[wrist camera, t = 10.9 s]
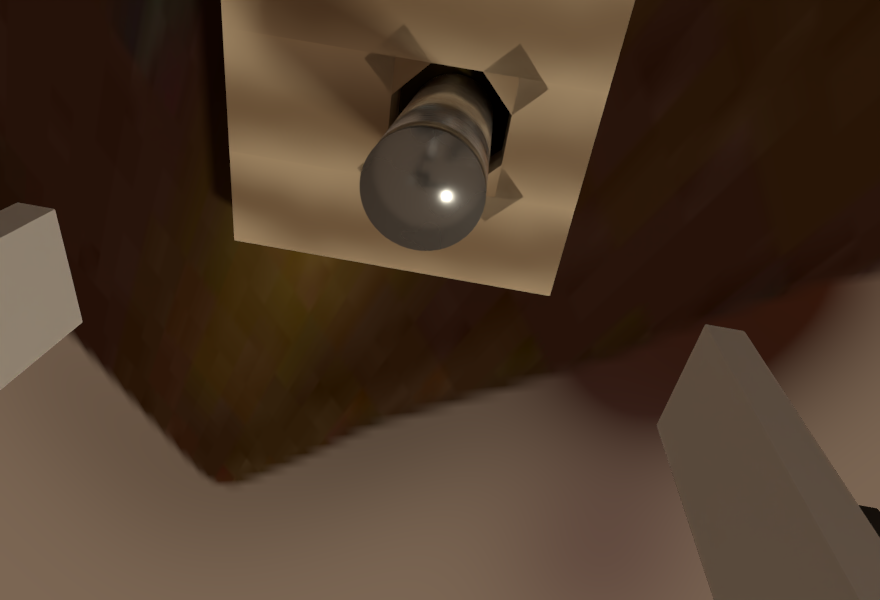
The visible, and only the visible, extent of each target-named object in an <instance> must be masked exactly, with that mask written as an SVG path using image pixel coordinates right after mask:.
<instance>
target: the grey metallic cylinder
mask: <svg viewBox="0 0 880 600" xmlns="http://www.w3.org/2000/svg"><path fill="white" fill-rule="evenodd" d="M492 127H493V108H492V104H491V101H490V99H489V96H488V95H487V93H486V91H485V90H484V89H483V87H482V86H481V85H480V84H479V83H477V82H476V81H475V80H473V79H471V78H470V77H467V76H465V75H461V74H455V73H448V74H442V75H439V76H436V77H434V78H432V79H431V80H429V81H428V82H426V83H425V84H424V85H423V86H422V87H421V89H420V90H419V91H418V92H417V94H416V95H415V96H414V97H413V99H412V100H411V101H410V102H409V104H408V105H407V106H406V107H405V109H404V110H403V111H402V113H401V114H400V115H399V116H398V118H397V119H396V120H395V121H394V123H393V124H392V125H391V127H390V128H389V129H388V130H387V132H386V133H385V134H384V135H383V137H382V138H381V139H380V141H379V142H378V143H377V144H376V146H375V147H374V148H373V149H372V151H371V152H370V154H369V155H368V157H367V158H366V160H365V163H364V165H363V168H362V171H361V175H360V197H361V201H362V205H363V208H364V210H365V213H366V215H367V216H368V218H369V220H370V221H371V223H372V224H373V225H374V227H375V228H376V229H377V230H378V231H379V232H380V233H381V234H382V235H383V236H385V237H386V238H387V239H389V240H390V241H392V242H394V243H396V244H398V245H400V246H402V247H405V248H408V249H413V250H419V251H433V250H440V249H443V248H447V247H449V246H452V245H454V244H456V243H458V242H459V241H461V240H462V239H463V238H465V237H466V236H467V235H468V234H469V233H470V232H471V231H472V230H473V229H474V227H475V226H476V225H477V223H478V221H479V220H480V218H481V215H482V213H483V210H484V206H485V201H486V191H487V181H488V170H489V159H490V149H491V138H492Z"/></svg>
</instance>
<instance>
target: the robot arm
mask: <svg viewBox="0 0 880 600" xmlns="http://www.w3.org/2000/svg"><path fill="white" fill-rule="evenodd" d="M81 323H82V318H81V314H80V310H79V306H78V302H77V298H76V294H75V289H74V285H73V281H72V277H71V273H70V269H69V265H68V261H67V257H66V253H65V249H64V245H63V241H62V237H61V232H60V228H59V224H58V220H57V216H56V212H55V209H51V208H45V207H39V206H34V205H28V204H22V203H16V204H14V205H12V206H9V207H7V208H5V209H3V210H1V211H0V390H1V389H2V388H3V387H5V386H6V385H7V384H8V383H9V382H11V381H12V380H13V379H14V378H15V377H17V376H18V375H19V374H20V373H22V372H23V371H24V370H25V369H26V368H27V367H29V366H30V365H31V364H32V363H34V362H35V361H36V360H37V359H38V358H40V357H41V356H42V355H43V354H44V353H46V352H47V351H48V350H49V349H51V348H52V347H53V346H54V345H55V344H57V343H58V342H59V341H60V340H61V339H63V338H64V337H65V336H66V335H67V334H69V333H70V332H71V331H72V330H74V329H75V328H76V327H77V326H78V325H80V324H81ZM657 428H658V431H659V435H660V438H661V441H662V443H663V447H664V450H665V452H666V456H667V459H668V462H669V465H670V468H671V471H672V474H673V477H674V480H675V483H676V486H677V489H678V493H679V496H680V499H681V501H682V505H683V507H684V511H685V514H686V517H687V520H688V523H689V526H690V529H691V532H692V535H693V538H694V541H695V544H696V547H697V550H698V554H699V557H700V559H701V563H702V566H703V569H704V571H705V575H706V578H707V581H708V584H709V587H710V590H711V593H712V596H713V599H714V600H880V511H879V510H878V509H877V508H871V507H866V506H860V505H858V504H857V502H856V501H855V499H854V498H853V496H852V495H851V493H850V492H849V491H848V489H847V487H846V486H845V484H844V483H843V481H842V480H841V478H840V477H839V475H838V473H837V472H836V470H835V469H834V467H833V466H832V465H831V463H830V461H829V460H828V458H827V457H826V455H825V454H824V452H823V451H822V449H821V448H820V446H819V444H818V443H817V442H816V440H815V438H814V437H813V435H812V434H811V432H810V431H809V429H808V428H807V426H806V425H805V423H804V422H803V420H802V419H801V417H800V416H799V414H798V412H797V411H796V410H795V408H794V406H793V405H792V403H791V402H790V400H789V399H788V398H787V396H786V394H785V393H784V392H783V390H782V388H781V387H780V385H779V384H778V382H777V381H776V379H775V377H774V376H773V374H772V373H771V371H770V370H769V368H768V367H767V365H766V364H765V362H764V361H763V359H762V358H761V356H760V355H759V353H758V352H757V350H756V349H755V347H754V346H753V344H752V342H751V341H750V339H749V338H748V337H747V335H746V333H745V332H744V331H740V330H734V329H728V328H723V327H717V326H712V325H706V324H705V326H704V328H703V330H702V332H701V335H700V337H699V339H698V341H697V343H696V345H695V347H694V349H693V351H692V353H691V355H690V357H689V359H688V361H687V364H686V366H685V368H684V370H683V372H682V374H681V376H680V378H679V380H678V382H677V384H676V386H675V388H674V390H673V393H672V395H671V397H670V399H669V401H668V403H667V405H666V407H665V409H664V411H663V413H662V415H661V417H660V419H659V422H658V424H657Z"/></svg>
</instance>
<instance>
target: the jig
mask: <svg viewBox="0 0 880 600" xmlns="http://www.w3.org/2000/svg"><path fill="white" fill-rule="evenodd" d="M634 2H635V0H221V11H222V29H223V46H224V64H225V82H226V99H227V117H228V134H229V152H230V170H231V187H232V205H233V222H234V240H236V241H242V242H248V243H253V244H259V245H265V246H270V247H276V248H282V249H287V250H293V251H299V252H304V253H310V254H316V255H321V256H327V257H332V258H338V259H344V260H349V261H355V262H361V263H366V264H372V265H378V266H383V267H389V268H395V269H400V270H406V271H412V272H417V273H423V274H429V275H434V276H440V277H446V278H451V279H457V280H462V281H468V282H474V283H479V284H485V285H491V286H496V287H502V288H508V289H513V290H519V291H525V292H530V293H536V294H542V295H547V296H550V293H551V290H552V286H553V283H554V279H555V276H556V272H557V269H558V266H559V262H560V259H561V255H562V252H563V248H564V245H565V241H566V238H567V234H568V231H569V227H570V224H571V220H572V217H573V214H574V210H575V207H576V203H577V200H578V196H579V193H580V189H581V186H582V182H583V179H584V175H585V172H586V168H587V165H588V162H589V158H590V155H591V151H592V148H593V144H594V141H595V137H596V134H597V130H598V127H599V123H600V120H601V116H602V113H603V110H604V106H605V103H606V99H607V96H608V92H609V89H610V85H611V82H612V78H613V75H614V71H615V68H616V64H617V61H618V58H619V54H620V51H621V47H622V44H623V40H624V37H625V33H626V30H627V26H628V23H629V19H630V16H631V12H632V9H633V6H634ZM430 63H436V64H442V65H447V66H453V67H459V68H465V69H471V70H477V71H483V72H484V74H485V75H486V77H487V78H488V80H489V81H490V83H491V84H492V86H493V88H494V89H495V91H496V92H497V94H498V95H499V97H500V98H501V100H502V101H503V103H504V104H505V106H506V107H507V109H508V110H509V117H508V122H507V127H506V132H505V137H504V142H503V147H502V149H501V150H500V151H498V152H497V153H495V154H494V155H493V156H491V157H490V159H489V170H488V181H487V191H486V201H485V206H484V210H483V213H482V215H481V218H480V220H479V221H478V223H477V225H476V226H475V227H474V229H473V230H472V231H471V232H470V233H469V234H468V235H467V236H466V237H465V238H463V239H462V240H461V241H459V242H458V243H456V244H454V245H452V246H449V247H447V248H443V249H440V250H433V251H419V250H413V249H408V248H405V247H402V246H400V245H398V244H396V243H394V242H392V241H390V240H389V239H387V238H386V237H385V236H383V235H382V234H381V233H380V232H379V231H378V230H377V229H376V228H375V227H374V225H373V224H372V223H371V221H370V220H369V218H368V216H367V215H366V213H365V210H364V208H363V205H362V201H361V197H360V175H361V171H362V168H363V165H364V163H365V160H366V158H367V157H368V155H369V154H370V152H371V151H372V149H373V148H374V147H375V146H376V144H377V143H378V142H379V141H380V139H381V138H382V137H383V135H384V134H385V133H386V132H387V130H388V129H389V128H390V127H391V125H392V124H393V123H394V121H395V120H396V119H397V118H398V116H399V106H400V97H401V87H402V86H403V85H404V84H406V83H407V82H408V81H409V80H410V79H412V78H413V77H414V76H415V75H417V74H418V73H419V72H420V71H422V70H423V69H424V68H425V67H427V66H428V65H429V64H430Z"/></svg>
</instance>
